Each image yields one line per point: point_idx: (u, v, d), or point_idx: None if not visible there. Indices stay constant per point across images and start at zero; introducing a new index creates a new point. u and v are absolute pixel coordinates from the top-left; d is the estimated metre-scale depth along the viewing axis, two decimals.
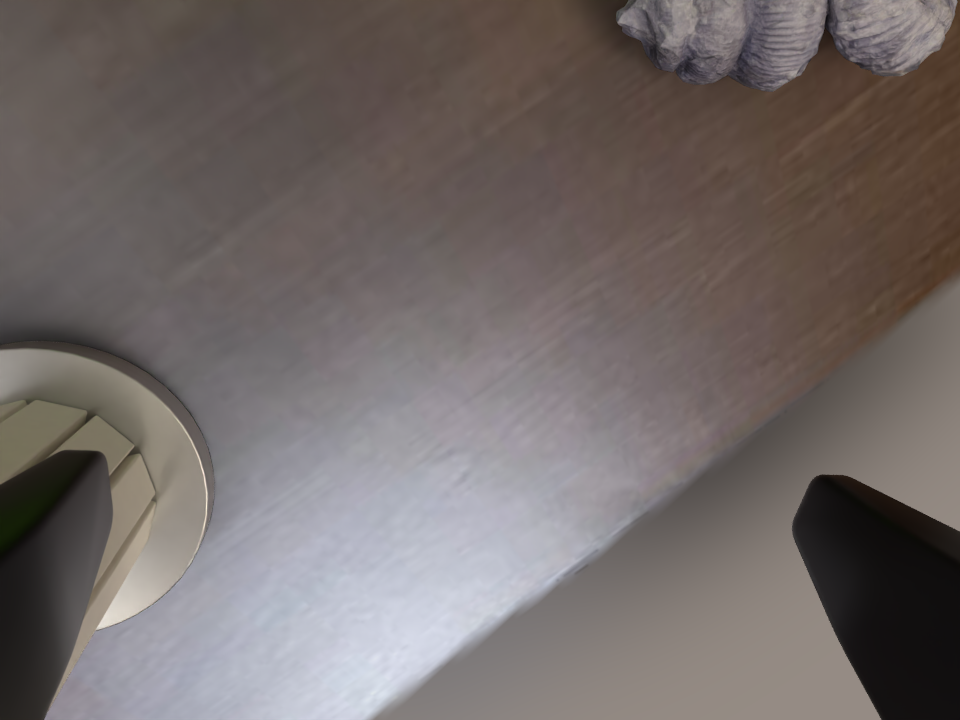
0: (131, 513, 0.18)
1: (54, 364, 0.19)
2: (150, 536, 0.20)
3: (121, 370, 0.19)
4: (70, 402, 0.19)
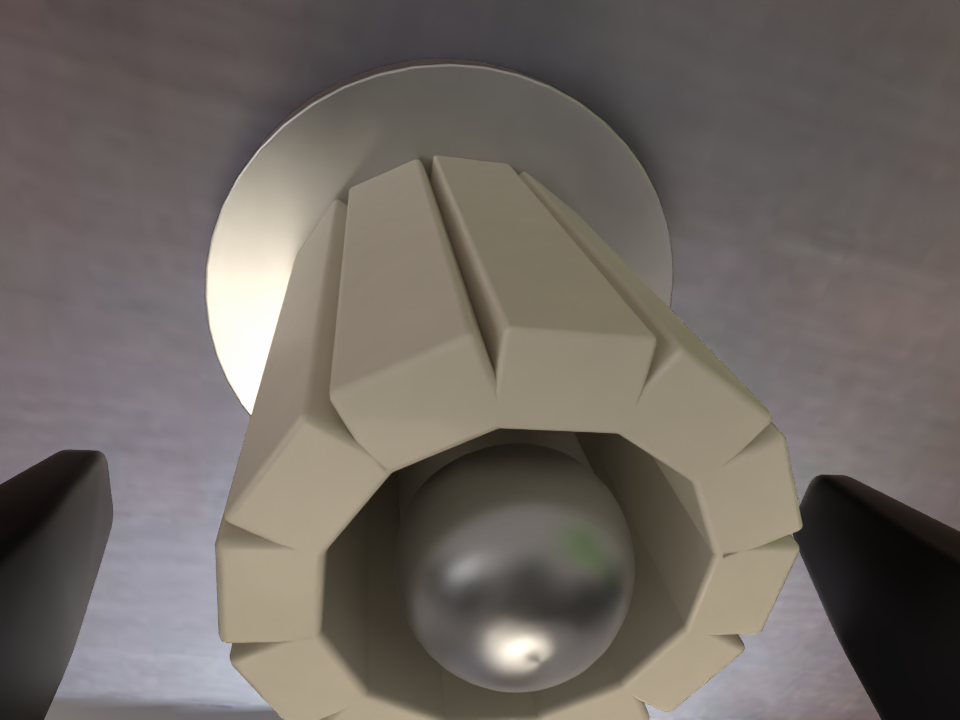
0: None
1: (642, 214, 0.13)
2: None
3: (671, 282, 0.14)
4: None
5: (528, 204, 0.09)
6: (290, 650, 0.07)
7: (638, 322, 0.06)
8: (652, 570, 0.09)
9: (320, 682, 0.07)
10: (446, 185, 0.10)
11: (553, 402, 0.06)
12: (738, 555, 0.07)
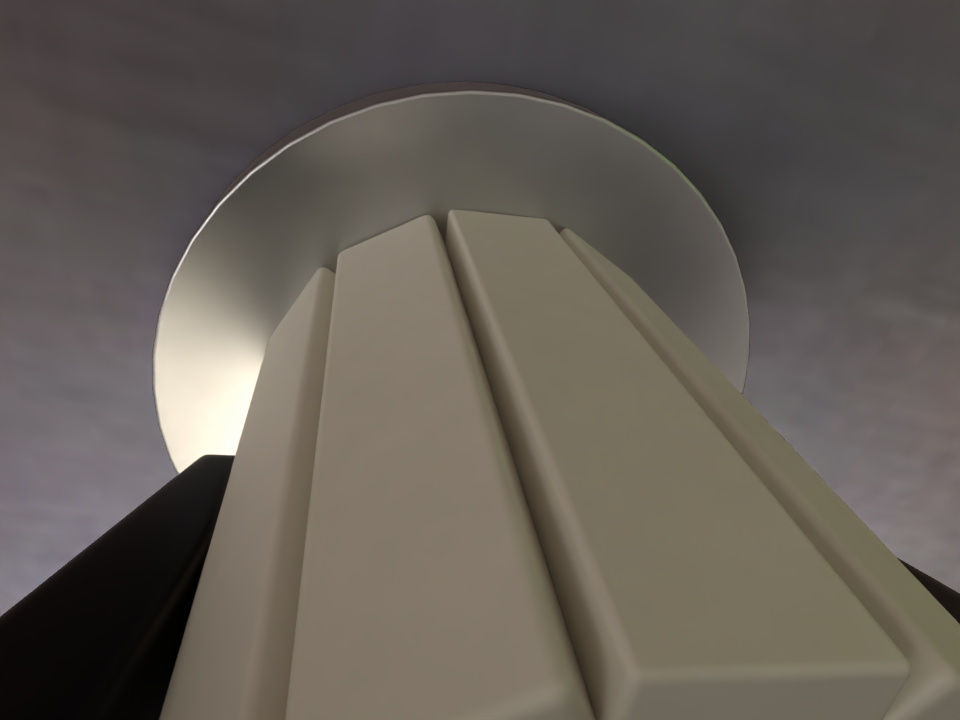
0: None
1: (715, 278, 0.10)
2: None
3: None
4: None
5: (589, 296, 0.07)
6: None
7: (860, 612, 0.03)
8: None
9: None
10: (471, 265, 0.07)
11: None
12: None
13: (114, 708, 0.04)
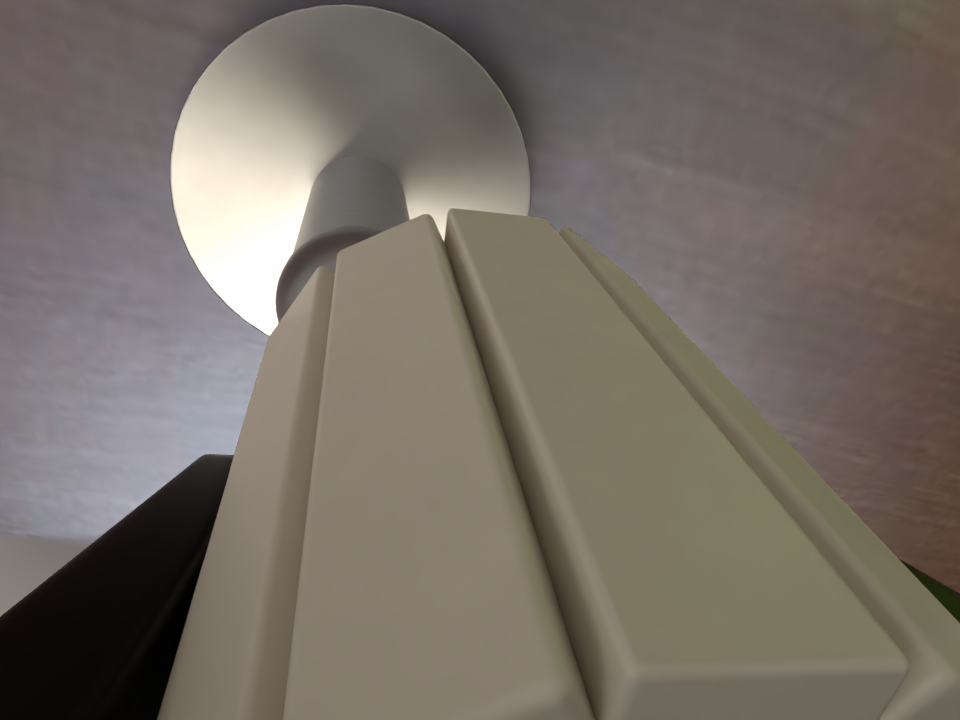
0: None
1: (501, 124, 0.17)
2: None
3: (530, 181, 0.18)
4: (473, 162, 0.17)
5: (588, 294, 0.07)
6: None
7: (858, 609, 0.03)
8: None
9: None
10: (470, 263, 0.07)
11: None
12: None
13: (114, 708, 0.04)
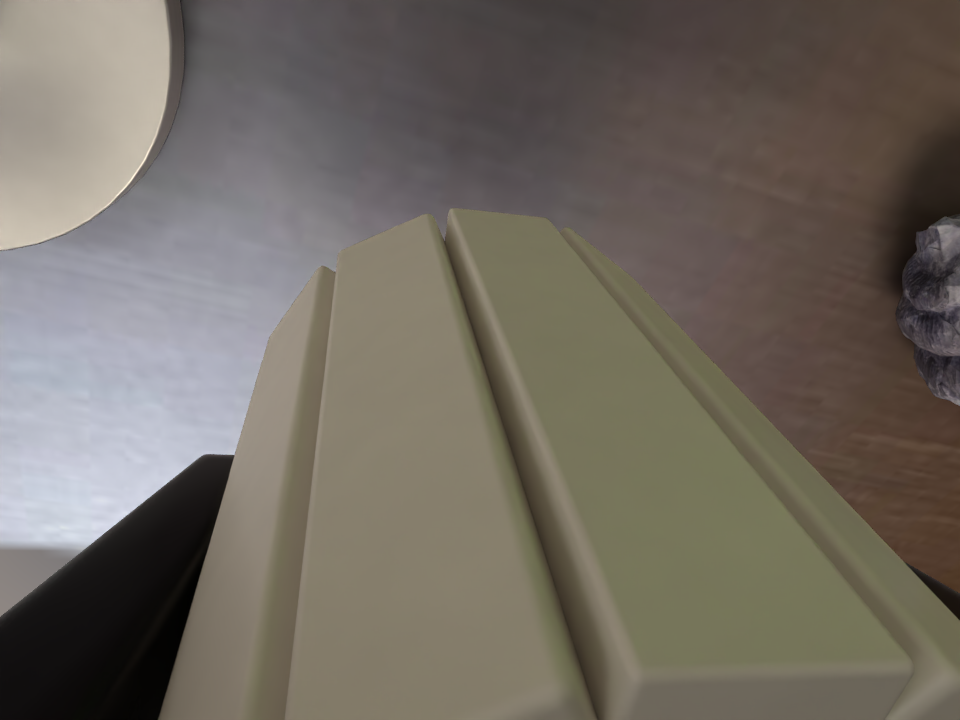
0: None
1: None
2: None
3: None
4: None
5: (589, 294, 0.07)
6: None
7: (862, 610, 0.03)
8: None
9: None
10: (471, 263, 0.07)
11: None
12: None
13: (114, 708, 0.04)
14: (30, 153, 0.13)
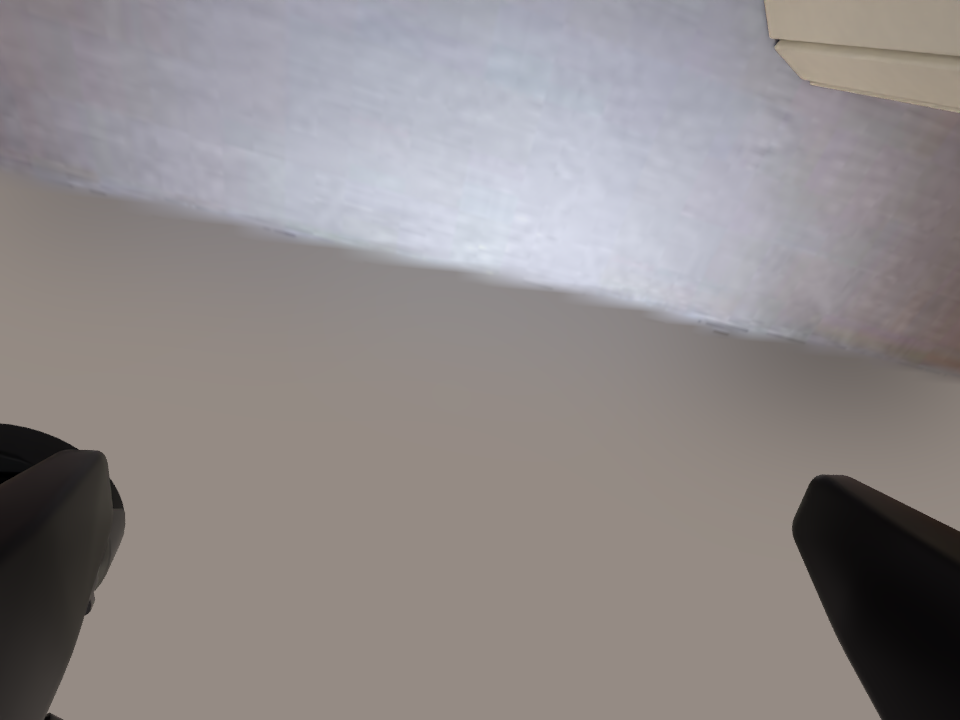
0: None
1: None
2: None
3: None
4: None
5: None
6: None
7: None
8: None
9: None
10: None
11: None
12: None
13: None
14: None
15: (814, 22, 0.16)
